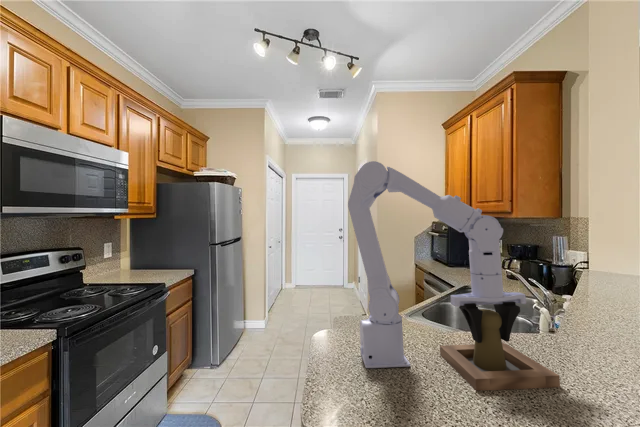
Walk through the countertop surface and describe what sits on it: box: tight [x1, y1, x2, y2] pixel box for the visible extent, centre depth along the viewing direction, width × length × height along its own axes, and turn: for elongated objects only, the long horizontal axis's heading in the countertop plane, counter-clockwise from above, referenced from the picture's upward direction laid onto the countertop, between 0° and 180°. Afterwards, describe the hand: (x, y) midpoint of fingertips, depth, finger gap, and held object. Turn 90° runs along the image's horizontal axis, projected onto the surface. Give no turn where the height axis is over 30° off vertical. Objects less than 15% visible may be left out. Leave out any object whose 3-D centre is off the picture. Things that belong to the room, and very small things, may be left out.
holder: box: [439, 342, 561, 392], centre depth 59 cm, size 15×15×2 cm
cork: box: [473, 308, 507, 371], centre depth 60 cm, size 6×6×11 cm
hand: (490, 340), depth 59 cm, fingers closed on cork, 5 cm apart
